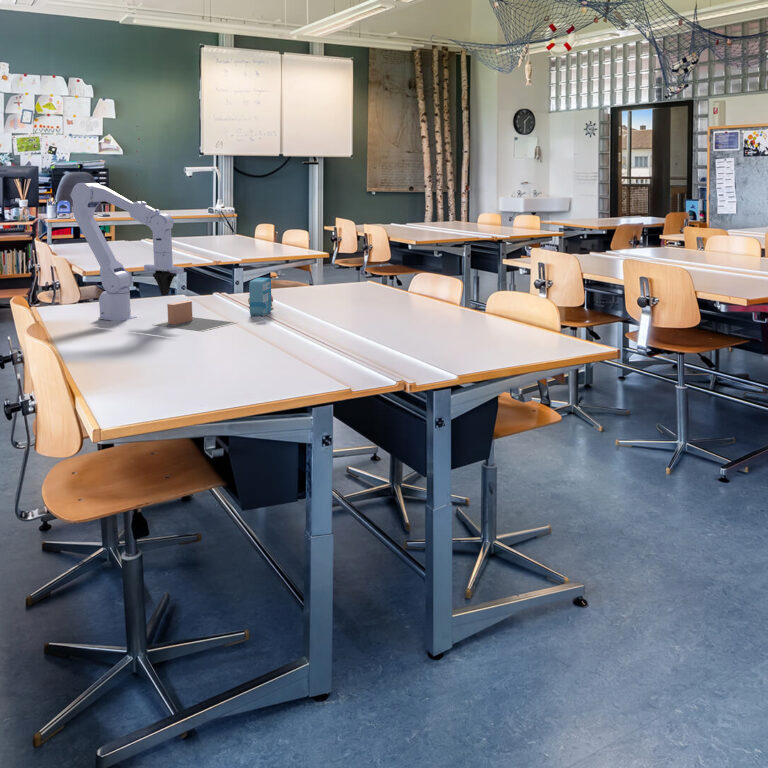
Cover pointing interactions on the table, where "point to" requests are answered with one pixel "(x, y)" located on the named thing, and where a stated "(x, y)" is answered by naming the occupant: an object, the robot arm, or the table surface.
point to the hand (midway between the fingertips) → (164, 294)
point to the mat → (197, 324)
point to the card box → (179, 312)
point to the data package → (260, 296)
